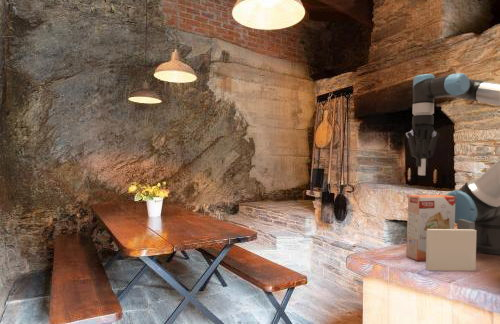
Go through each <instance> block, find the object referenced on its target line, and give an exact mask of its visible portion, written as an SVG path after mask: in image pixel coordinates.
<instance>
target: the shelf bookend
mask: <svg viewBox="0 0 500 324" xmlns="http://www.w3.org/2000/svg"><path fill="white" fill-rule="evenodd" d="M476 231H477V230H475V223H474V222H471V221H467V220H464V219H457V224H456V229H455V228H454V229H427V243H426V261H425V269H426V270H427V271H440V272H441V271H443V272H444V271H446V272H447V271H454V272H455V271H457V272H458V271H460V272H462V271H463V272H465V271H466V272H471V271H473V272H475V271H476V270H477V269H476V266H477V264H476V263H477V262H476V261H477V260H476V259H477V251H476ZM476 272H477V271H476Z"/></svg>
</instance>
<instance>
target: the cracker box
mask: <svg viewBox="0 0 500 324" xmlns="http://www.w3.org/2000/svg"><path fill="white" fill-rule="evenodd" d="M455 202H456V197H454V196H448V195H447V194H409V195H408V197H407V221H406V222H407V224H406V225H407V226H406V250H405V253H406V257H407V258H410V259H412V260H414V261H416V262H423V261H425V262H426V243H427V229H455V226H456V225H455V224H456V223H455Z"/></svg>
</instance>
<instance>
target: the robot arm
mask: <svg viewBox="0 0 500 324" xmlns="http://www.w3.org/2000/svg"><path fill="white" fill-rule="evenodd" d="M445 97H446V98H447V97H449V98H455V99H462V100H468V101H473V102H480V103H483V104H484V103H486V104H490V105H495V106H500V82H495V81H494V82H493V81H485V80H479V79H472V78H469V76H467V74H465V73H464V72H458V73H451V74H448V75H443V76H439V77H435V75H434V74H433V73H424V74H417V75H415V76H414V77H413V82H412V115H413V116H412V121H411V125H412V126H411V129H410V131H408V132H405V133H404V135H405V137H406V138H407V141H408V146H409V151H410V155H411V157H413V158H415V164H416V165H415V167H417V175H418V176H426V170H427V169H426V168H427V167H428V166H429V163H428V160H429V159H430V158H433V156H434V153H435V150H436V147H437V141H438V139H439V138H440V136H441V133H440V132H437V131H435V128H434V120H435V118H434V117H435V116H434V115H433V114H435V99H439V98H445ZM430 138H431V139H430ZM446 195H448V196H454V197H456V202H455V224H456V225H457V219H464V220H467V221H471V222H474V223H475V230H477V231H476V252H479V253H482V254H491V255H496V256H497V255H498V256H500V158H499V159H498V160H497V161H496V162H495V163H494V164H492V166H490V168H488V169H487V170H486V171H484V172H483V174H482V175H481V176H480V177H478V178H477V179H469V180H467V182H465V183H464V184H463V185H462V186H461V187H460V188H459V189H454V190H451V191H449V192H448V193H447V194H446Z"/></svg>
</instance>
